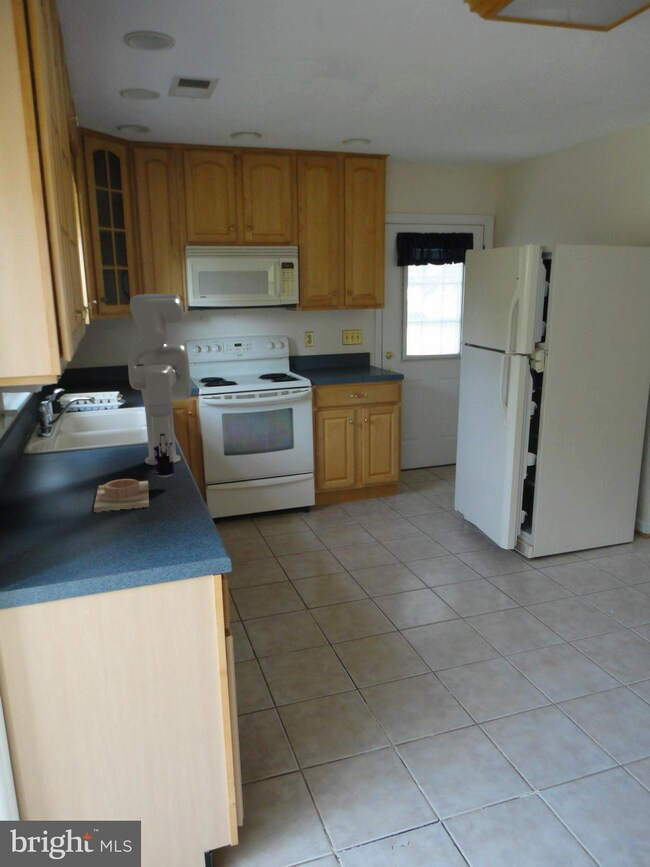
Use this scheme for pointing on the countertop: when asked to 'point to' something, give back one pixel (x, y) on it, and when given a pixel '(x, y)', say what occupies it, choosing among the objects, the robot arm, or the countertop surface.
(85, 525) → the countertop surface
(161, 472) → the beverage can
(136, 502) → the base board
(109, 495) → the segmented ring
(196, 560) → the countertop surface
